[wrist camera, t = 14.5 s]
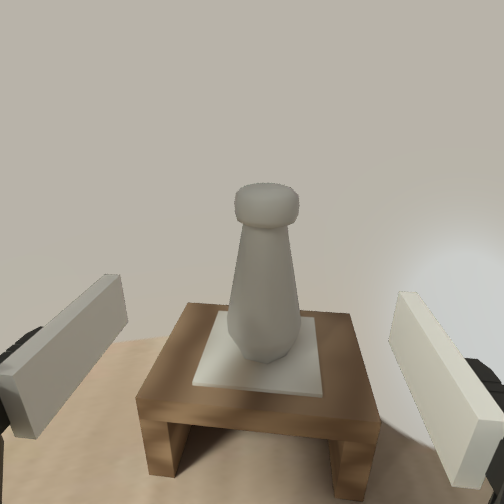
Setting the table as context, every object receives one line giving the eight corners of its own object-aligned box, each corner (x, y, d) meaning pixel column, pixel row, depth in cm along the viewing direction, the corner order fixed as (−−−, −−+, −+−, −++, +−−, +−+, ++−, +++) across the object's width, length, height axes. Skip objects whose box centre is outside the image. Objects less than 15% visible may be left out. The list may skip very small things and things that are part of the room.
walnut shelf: (149, 474, 25) (134, 394, 21) (193, 364, 36) (187, 299, 32) (362, 501, 23) (382, 419, 20) (339, 377, 34) (349, 311, 31)
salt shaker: (262, 316, 30) (265, 174, 25) (313, 345, 26) (329, 186, 21) (212, 345, 26) (204, 185, 21) (264, 384, 22) (270, 200, 17)
